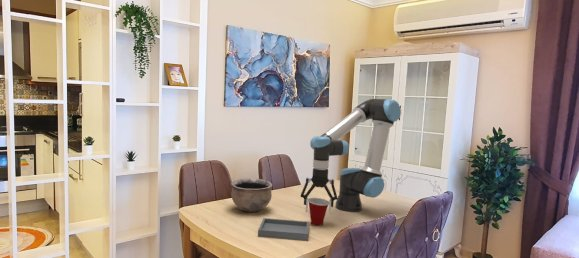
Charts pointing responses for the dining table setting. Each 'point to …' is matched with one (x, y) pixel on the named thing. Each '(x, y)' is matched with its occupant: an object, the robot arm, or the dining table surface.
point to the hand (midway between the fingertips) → (318, 212)
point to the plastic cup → (317, 210)
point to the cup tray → (284, 229)
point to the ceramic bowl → (251, 194)
